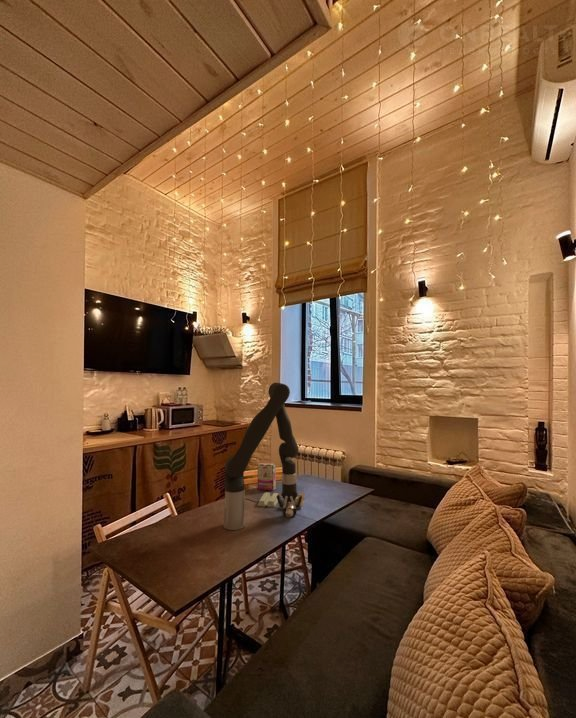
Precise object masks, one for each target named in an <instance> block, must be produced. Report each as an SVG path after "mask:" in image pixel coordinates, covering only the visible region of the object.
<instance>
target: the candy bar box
mask: <svg viewBox="0 0 576 718" xmlns="http://www.w3.org/2000/svg"><path fill="white" fill-rule="evenodd" d="M256 468H257V490H258V491H266V490H269V491H268V492H275V490H276V489H277V485H276V484H277V482H276V480H277V479H276V478H277V475H276V473H277V472H276V469H277V468H276V463H271V462H269V463H268V462H259V463H257V467H256Z"/></svg>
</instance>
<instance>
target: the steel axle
mask: <svg viewBox="0 0 576 718" xmlns="http://www.w3.org/2000/svg"><path fill="white" fill-rule="evenodd" d="M295 502H296V505H297V501H296V500H295ZM285 515H286V516H285ZM284 516H285V517H286V518H288V519H289V518H292V517H294V516H293V505H292V502H290V503H289V505H288V508H287V510H286V512H285V514H284Z"/></svg>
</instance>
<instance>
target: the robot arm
mask: <svg viewBox="0 0 576 718" xmlns="http://www.w3.org/2000/svg"><path fill="white" fill-rule="evenodd" d="M267 392H268V395H269V400H268V402H267V404H266V405H265V406H264V407H263V408H262V409H261V410H260V411H259V412H258V413H257V414H255V416H254V417H253V418H252V421H251V422H250V423H249V425H248V427H247V428H246V430H245V433H244V436H243V438H242V439H241V443H240V445H239V447H238V448H237V450H236V452H235V454H233V455H232V454H231V455H230V456H228V457H227V459H226V460H225V463H224V485H225V488H224V489H225V490H224V491H225V496H224V502H225V503H224V505H225V506H223V529H226V530H228V531H229V530H230V531H237V530H238V531H239V530H240V529H243V528H244V527H245V477H244V475H245V474H244V473H245V471H246V469H247V467H248V464H249V462H250V460H251V458H252V456H253V454H254V452H255V451H256V449H257V448H258V447H259V445H260V443H262V440H263V438H264V437H265V435H266V434H267V432H268V431H269V430H270V429H269V428H270V427H271V425H272V423H273V422H274V420H275V418H276V424H277V430H278V435H279V439H280V440H282V441H283V442H281V443H280V444H279V447H278V455H279V458H280V463H281V465H282V466H281V467H282V468H281V469H282V470H281V471H282V472H281V493H279V494H278V495H277V500H278V503H277V504H279V508H283V512H282V513H283V515H284V516H285V517H286V515H285V512H286V510H287V507H286V504H287V502H292V505H293V516H292V517H295V516H296V515H297V508H299V506H300V503H301V499H302V495H300V494H298V492H297V491H298V490H297V489H298V488H297V469H296V463H295V461H293V460H292V459H291V458H296V457H297V456H298V454H299V446H298V442H297V441H296V438H295V436H294V435H293V427H292V423H291V419H290V418H289V415H288V412H287V409H286V405H285V403H286V402H287V401H288V399H289V398H290V394H291V390H290V387H289V386H288V385H286V384H285V383H280V382H273V383H271V384H270V385H269V388H268V391H267ZM296 497H298V500H299V501H298V504H297V505H296V503H297V501H296V500H295V499H296ZM282 499H283V501H282ZM284 500H285V501H284ZM295 501H296V502H295Z"/></svg>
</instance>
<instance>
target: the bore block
mask: <svg viewBox="0 0 576 718" xmlns="http://www.w3.org/2000/svg"><path fill="white" fill-rule="evenodd" d="M299 495H302V499H301V503H300V506H299V508H296V510H302V508H301V507H303V505H304V502H305V492H300V494H299ZM284 501H285V500H284V499H283V502H284ZM295 501H296V503H297V504H298V501H299V500H298V497H296V499H295ZM289 503H290V502H287V504H286V507H287V508H288V505H289Z"/></svg>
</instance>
